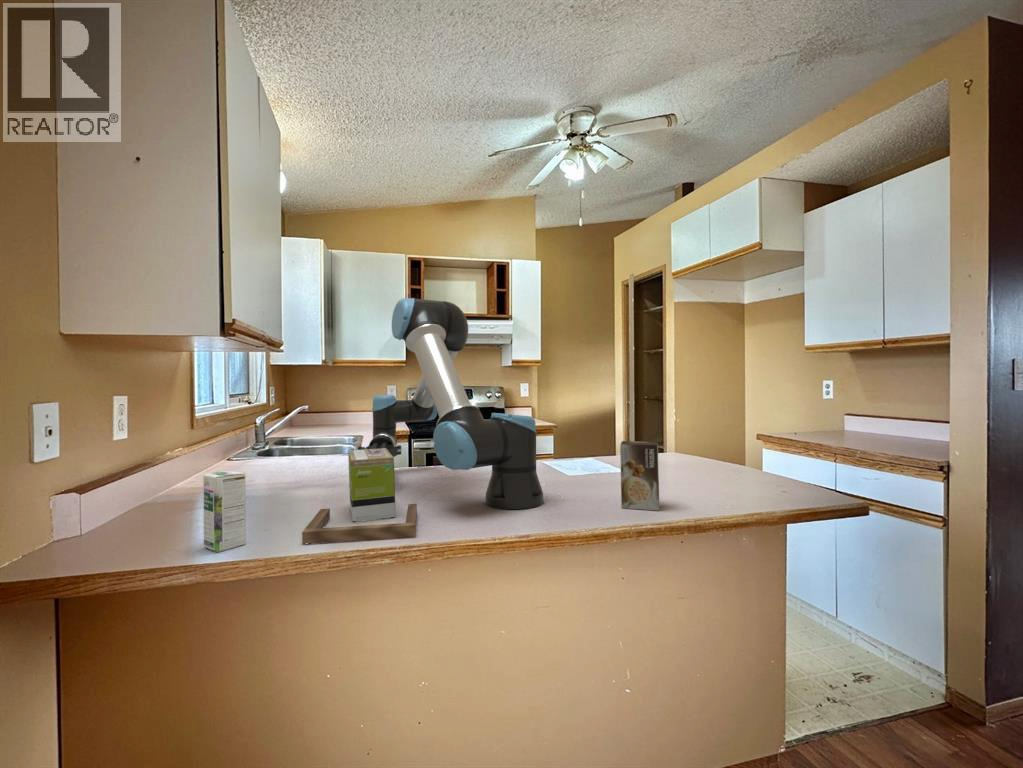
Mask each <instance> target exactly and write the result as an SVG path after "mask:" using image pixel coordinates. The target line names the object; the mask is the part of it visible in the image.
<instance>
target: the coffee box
mask: <svg viewBox="0 0 1023 768" xmlns="http://www.w3.org/2000/svg"><path fill="white" fill-rule="evenodd" d="M658 444H659V443H658V441H641V440H640V441H637V440H636V441H633V440H622V441H621V442H620V445H619V447H620V449H619V451H620V457H619V458H620V498H621V499H620V500H621V501H620V502H621V506H620V508H621V509H625V510H626V509H627V510H643V511H644V510H645V511H658V512H659V511H660V507H661V505H660V504H661V503H660V483H659V482H660V481H659V478H660V475H659V445H658Z"/></svg>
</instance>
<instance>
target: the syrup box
mask: <svg viewBox="0 0 1023 768" xmlns="http://www.w3.org/2000/svg"><path fill="white" fill-rule="evenodd" d="M202 482H203V548H204V549H206V548H207V549H209V550H211V551H213V552H215V553H220V552H223V551H227V550H231V549H235V548H237V547H240V546H244V545H246V544H247V513H246V512H247V511H246V510H247V509H246V508H247V506H246V505H247V503H246V502H247V500H246V499H247V498H246V496H247V494H246V492H247V491H246V488H247V486H246V472H238V471H233V470H222V471H215V472H214V471H213V472H209V473H205V474H203V481H202Z"/></svg>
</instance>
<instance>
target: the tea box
mask: <svg viewBox="0 0 1023 768" xmlns="http://www.w3.org/2000/svg"><path fill="white" fill-rule="evenodd" d="M347 456H348V481H349V482H348V484H349V485H348V486H349V488H348V489H349V505H350V514H351V520H352V522H353V521H362V520H371V521H374V520H373V519H380V520H382V519H381V518H387V519H392V518H391V517H394V518H396V488H395V487H396V486H395V481H396V480H395V459H394V457H393V456H392V455H391V454H390V452H389V451H388V450H387V448H381V449H365V450H358V449H356V450H348V455H347ZM362 522H363V521H362Z"/></svg>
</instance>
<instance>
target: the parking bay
mask: <svg viewBox="0 0 1023 768" xmlns="http://www.w3.org/2000/svg"><path fill="white" fill-rule="evenodd" d="M417 510H418V505H417V503H408V505H407V510H406V516H405V522H403V523H402V522H401V523H398V522H397V523H383V524H382V523H381V524H369V525H368V524H367V525H353V526H351V525H350V526H348V525H347V526H334V527H326V526H325V525H327V524H328V523H329V521H330V520H331V511H330V508H320V509H319V510H318V512H317V513H316V514H315V515H314V517H313V518H311V521H310V522H309V523H308V524H307V525H306V526H305V528H304V529H303V531H302V532H301V539H302V541H301V543H302V544H306V543H308V544H306V545H310V544H309V543H321V544H323V543H322V542H337V543H341V542H340V541H352V542H356V541H355V540H367V541H377V540H376V539H382V540H392V539H393V538H397V539H408V538H410V539H411V538H416V531H417V518H418V516H417V515H418V511H417ZM329 519H330V520H329ZM328 520H329V521H328ZM327 522H328V523H327ZM326 523H327V524H326ZM324 526H325V527H324ZM323 527H324V528H323ZM302 544H301V545H302Z"/></svg>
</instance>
